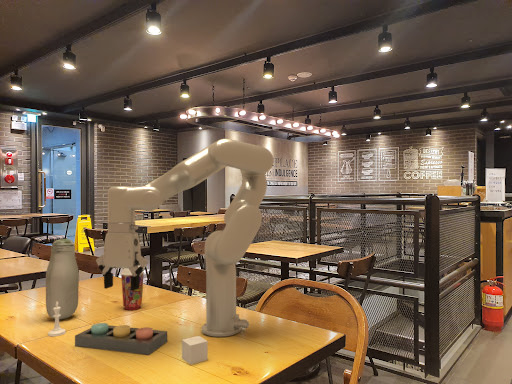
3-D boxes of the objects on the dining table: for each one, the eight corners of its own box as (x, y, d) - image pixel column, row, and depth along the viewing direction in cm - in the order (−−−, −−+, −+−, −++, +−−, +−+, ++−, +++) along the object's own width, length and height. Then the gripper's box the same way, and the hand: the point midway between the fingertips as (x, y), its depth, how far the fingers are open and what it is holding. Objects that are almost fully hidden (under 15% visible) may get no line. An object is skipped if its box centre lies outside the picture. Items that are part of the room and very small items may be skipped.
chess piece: (46, 337, 115) (46, 304, 116) (50, 331, 120) (50, 300, 120) (63, 335, 117) (63, 303, 117) (67, 330, 122) (67, 298, 122)
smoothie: (136, 311, 141) (136, 258, 141) (116, 310, 142) (116, 257, 142) (147, 305, 149) (147, 254, 149) (128, 304, 150) (128, 254, 151)
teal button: (111, 332, 113) (111, 323, 113) (101, 337, 109) (101, 328, 109) (98, 331, 115) (98, 322, 115) (87, 336, 110) (87, 327, 110)
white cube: (198, 354, 102) (198, 335, 103) (207, 360, 98) (207, 341, 99) (181, 358, 100) (181, 339, 100) (190, 365, 96) (190, 345, 96)
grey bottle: (62, 324, 127) (62, 241, 128) (39, 321, 131) (39, 240, 131) (84, 315, 137) (84, 238, 137) (62, 312, 140) (62, 237, 141)
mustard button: (133, 334, 111) (133, 325, 111) (123, 340, 107) (123, 331, 107) (119, 333, 113) (119, 324, 113) (109, 338, 108) (109, 329, 108)
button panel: (167, 341, 111) (167, 331, 111) (148, 355, 102) (148, 343, 102) (98, 333, 118) (98, 324, 118) (74, 346, 108) (74, 335, 108)
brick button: (155, 337, 109) (155, 328, 109) (147, 343, 105) (147, 333, 105) (141, 335, 111) (141, 326, 111) (132, 341, 106) (132, 332, 106)
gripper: (154, 228, 112) (154, 287, 111) (104, 227, 116) (104, 284, 116) (140, 230, 104) (140, 293, 104) (87, 229, 109) (87, 289, 109)
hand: (121, 288), depth 110 cm, fingers open, 8 cm apart
